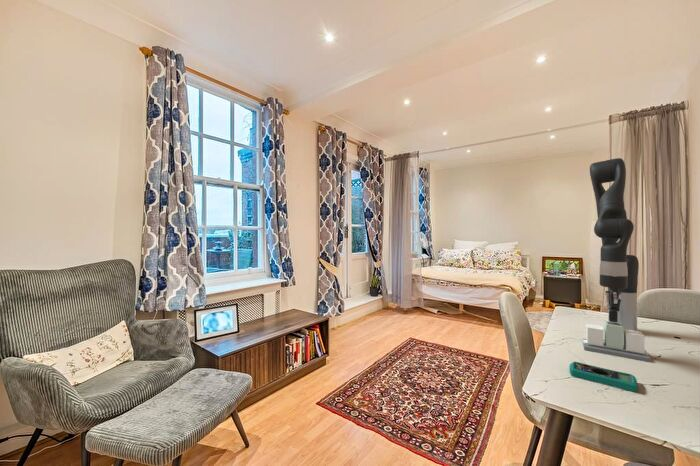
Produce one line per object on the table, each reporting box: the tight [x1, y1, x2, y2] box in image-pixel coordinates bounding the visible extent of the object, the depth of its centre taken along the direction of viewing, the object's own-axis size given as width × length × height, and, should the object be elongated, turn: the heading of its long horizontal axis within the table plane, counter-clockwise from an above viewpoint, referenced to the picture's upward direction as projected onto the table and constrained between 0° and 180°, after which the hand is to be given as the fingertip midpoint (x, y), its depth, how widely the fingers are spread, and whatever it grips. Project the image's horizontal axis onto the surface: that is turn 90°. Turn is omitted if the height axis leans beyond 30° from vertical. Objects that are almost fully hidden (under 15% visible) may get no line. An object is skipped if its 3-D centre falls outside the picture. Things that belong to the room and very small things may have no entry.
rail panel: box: [582, 323, 651, 363], centre depth 105 cm, size 10×17×8 cm, turn 54°
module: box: [603, 320, 623, 350], centre depth 105 cm, size 6×4×8 cm
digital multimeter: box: [568, 361, 638, 393], centre depth 85 cm, size 7×15×3 cm, turn 49°
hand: (613, 321), depth 105 cm, fingers closed
